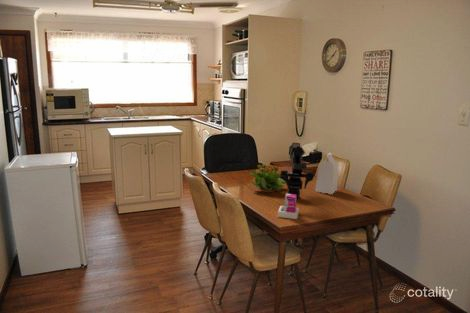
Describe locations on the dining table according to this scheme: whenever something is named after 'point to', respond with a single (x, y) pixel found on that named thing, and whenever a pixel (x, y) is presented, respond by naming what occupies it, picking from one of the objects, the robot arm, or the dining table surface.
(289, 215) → the collar
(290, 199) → the supplement box
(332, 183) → the milk
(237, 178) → the dining table surface
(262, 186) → the potted flower
